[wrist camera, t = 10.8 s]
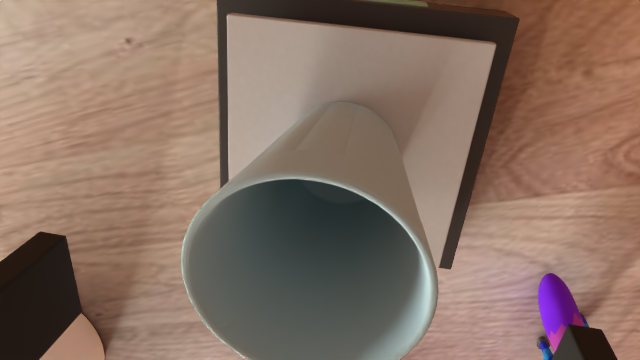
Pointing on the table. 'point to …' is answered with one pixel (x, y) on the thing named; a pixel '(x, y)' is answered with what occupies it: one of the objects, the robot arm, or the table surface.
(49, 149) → the table surface
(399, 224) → the cup
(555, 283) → the fox figurine
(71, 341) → the pitcher
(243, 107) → the scale
